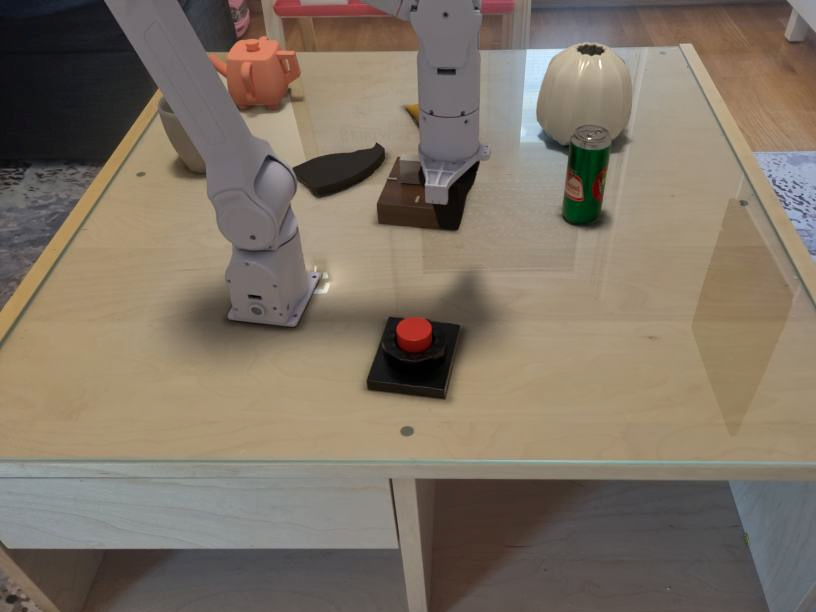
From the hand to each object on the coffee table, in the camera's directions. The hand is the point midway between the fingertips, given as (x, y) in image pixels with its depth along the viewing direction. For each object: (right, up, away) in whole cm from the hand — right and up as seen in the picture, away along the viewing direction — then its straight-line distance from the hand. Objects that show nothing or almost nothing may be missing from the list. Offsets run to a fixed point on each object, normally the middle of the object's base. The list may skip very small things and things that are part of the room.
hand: (449, 225), depth 79 cm
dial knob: (-4, +9, +20) cm, 22 cm away
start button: (-4, -12, -2) cm, 13 cm away
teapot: (-32, +28, +45) cm, 62 cm away
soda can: (+17, +4, +20) cm, 27 cm away
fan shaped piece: (-16, +12, +27) cm, 34 cm away
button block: (-4, -14, 0) cm, 15 cm away
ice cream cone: (-2, +20, +37) cm, 42 cm away
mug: (-36, +15, +31) cm, 50 cm away
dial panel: (-4, +7, +22) cm, 24 cm away
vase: (+20, +19, +36) cm, 45 cm away
